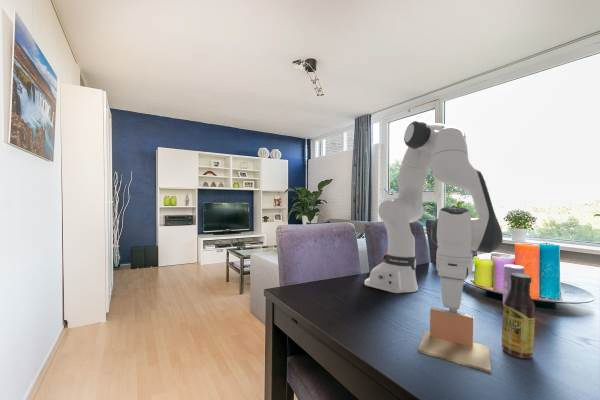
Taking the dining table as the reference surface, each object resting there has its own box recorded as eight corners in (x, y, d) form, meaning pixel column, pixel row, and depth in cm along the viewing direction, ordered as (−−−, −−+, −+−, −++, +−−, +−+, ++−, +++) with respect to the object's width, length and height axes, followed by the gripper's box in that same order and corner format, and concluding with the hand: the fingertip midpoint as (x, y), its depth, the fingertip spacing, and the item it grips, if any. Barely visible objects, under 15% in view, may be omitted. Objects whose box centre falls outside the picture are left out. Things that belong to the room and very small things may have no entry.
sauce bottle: (495, 346, 71) (496, 270, 71) (517, 346, 72) (518, 270, 72) (517, 361, 65) (518, 278, 65) (541, 360, 65) (543, 277, 65)
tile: (429, 335, 75) (430, 308, 75) (430, 333, 77) (431, 306, 76) (472, 347, 70) (473, 317, 70) (472, 344, 71) (473, 315, 71)
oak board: (418, 351, 68) (418, 349, 68) (425, 332, 78) (425, 330, 78) (491, 373, 60) (491, 370, 60) (488, 348, 70) (488, 346, 70)
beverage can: (527, 311, 94) (528, 268, 94) (508, 310, 96) (509, 267, 96) (517, 305, 100) (518, 264, 100) (499, 303, 101) (500, 263, 101)
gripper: (444, 257, 87) (443, 300, 87) (437, 270, 69) (436, 325, 69) (467, 259, 83) (467, 305, 83) (466, 274, 66) (465, 331, 66)
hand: (453, 314), depth 76 cm, fingers closed
